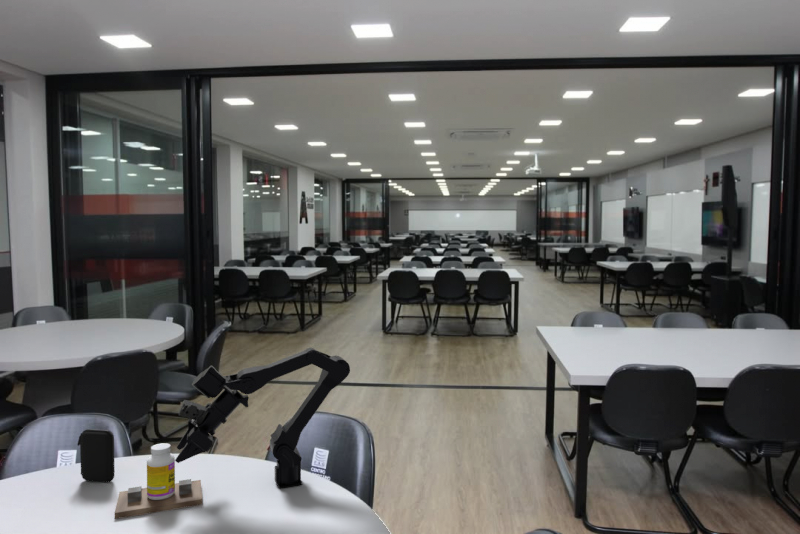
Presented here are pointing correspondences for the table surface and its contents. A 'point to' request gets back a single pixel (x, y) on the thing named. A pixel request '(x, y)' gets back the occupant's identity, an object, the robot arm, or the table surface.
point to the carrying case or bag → (97, 455)
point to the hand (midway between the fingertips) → (177, 455)
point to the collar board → (140, 504)
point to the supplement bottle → (160, 472)
